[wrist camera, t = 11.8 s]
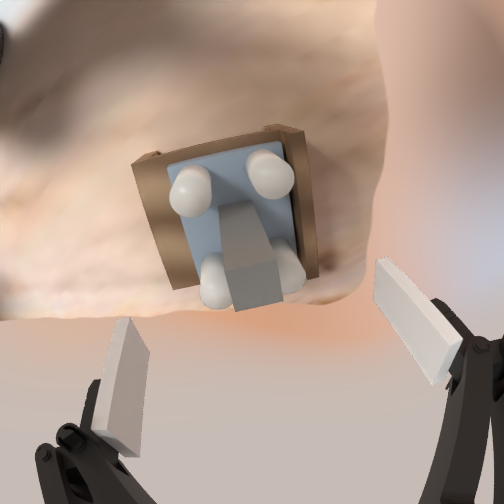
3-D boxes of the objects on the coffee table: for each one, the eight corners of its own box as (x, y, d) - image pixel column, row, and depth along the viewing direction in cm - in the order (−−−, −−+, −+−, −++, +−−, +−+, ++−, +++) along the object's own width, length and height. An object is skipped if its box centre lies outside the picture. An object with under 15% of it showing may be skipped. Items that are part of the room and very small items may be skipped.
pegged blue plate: (168, 164, 25) (138, 211, 14) (277, 140, 25) (329, 169, 14) (201, 275, 31) (201, 367, 20) (294, 254, 31) (336, 336, 20)
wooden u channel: (144, 154, 30) (120, 173, 21) (278, 124, 30) (304, 131, 22) (177, 262, 36) (170, 310, 28) (294, 236, 37) (319, 276, 29)
